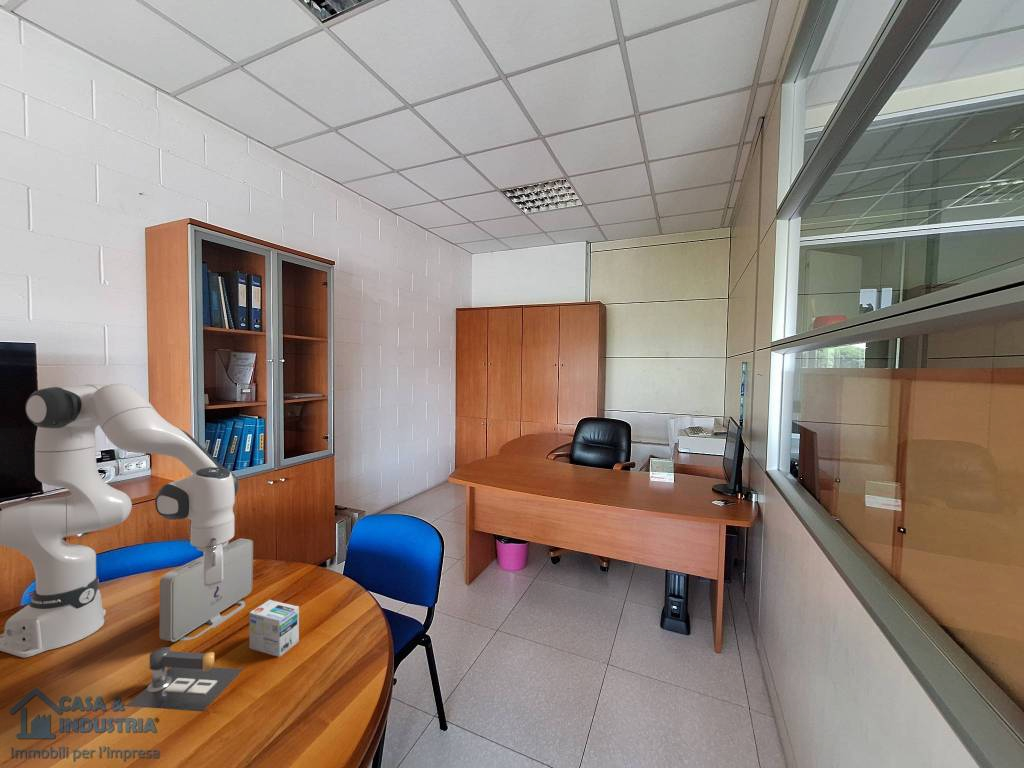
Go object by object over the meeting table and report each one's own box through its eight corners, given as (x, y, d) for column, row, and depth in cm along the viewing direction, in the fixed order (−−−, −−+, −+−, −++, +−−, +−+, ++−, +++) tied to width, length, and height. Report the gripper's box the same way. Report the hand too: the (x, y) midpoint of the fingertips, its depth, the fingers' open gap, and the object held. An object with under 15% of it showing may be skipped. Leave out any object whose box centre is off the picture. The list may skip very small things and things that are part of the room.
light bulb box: (299, 642, 108) (300, 605, 108) (279, 660, 102) (279, 620, 101) (269, 634, 111) (270, 598, 110) (247, 650, 104) (248, 612, 104)
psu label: (163, 691, 90) (163, 689, 90) (177, 679, 94) (177, 677, 94) (182, 692, 90) (182, 691, 90) (195, 680, 93) (195, 678, 93)
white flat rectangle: (186, 692, 90) (186, 691, 90) (199, 680, 93) (199, 679, 93) (204, 694, 90) (204, 692, 90) (217, 681, 93) (217, 680, 93)
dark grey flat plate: (125, 708, 86) (125, 705, 86) (174, 666, 98) (174, 664, 98) (203, 713, 85) (203, 711, 85) (243, 671, 97) (243, 669, 97)
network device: (177, 652, 103) (177, 579, 102) (151, 647, 105) (151, 574, 104) (258, 598, 128) (258, 538, 127) (236, 594, 130) (236, 535, 129)
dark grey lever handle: (145, 669, 90) (145, 657, 90) (159, 658, 94) (159, 646, 93) (206, 673, 89) (206, 661, 89) (219, 662, 93) (219, 650, 93)
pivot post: (141, 693, 90) (141, 671, 90) (159, 678, 94) (159, 657, 94) (159, 695, 90) (159, 673, 89) (177, 680, 94) (177, 658, 94)
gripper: (230, 544, 91) (230, 601, 92) (226, 517, 107) (226, 565, 108) (196, 551, 87) (196, 611, 88) (197, 522, 103) (197, 572, 104)
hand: (212, 586), depth 98 cm, fingers closed
